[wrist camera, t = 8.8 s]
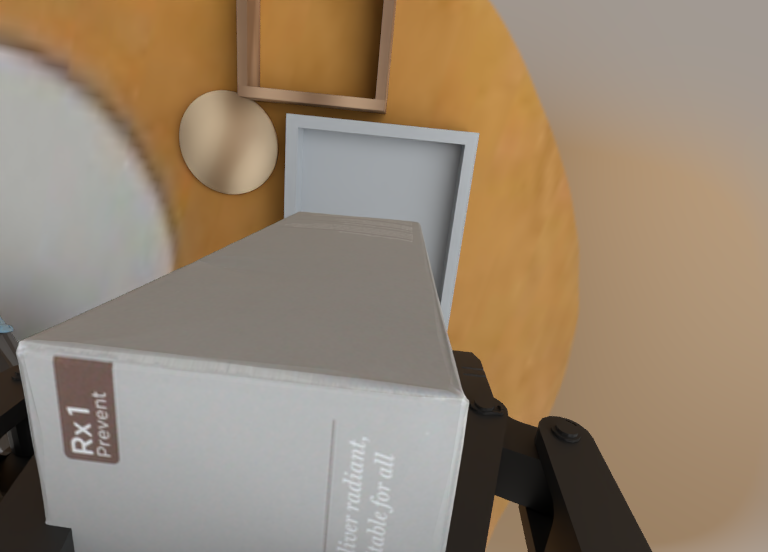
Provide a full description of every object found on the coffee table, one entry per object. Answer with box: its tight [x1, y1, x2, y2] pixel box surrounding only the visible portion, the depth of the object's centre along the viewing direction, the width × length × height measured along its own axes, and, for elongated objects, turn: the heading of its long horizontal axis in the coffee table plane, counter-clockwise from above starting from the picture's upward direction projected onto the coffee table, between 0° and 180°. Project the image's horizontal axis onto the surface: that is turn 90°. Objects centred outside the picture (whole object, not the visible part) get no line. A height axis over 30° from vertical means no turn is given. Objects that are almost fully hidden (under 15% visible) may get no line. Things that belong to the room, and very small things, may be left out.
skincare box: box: [16, 212, 469, 552], centre depth 14 cm, size 8×7×16 cm
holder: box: [236, 0, 396, 114], centre depth 32 cm, size 12×12×3 cm
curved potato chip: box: [179, 90, 278, 194], centre depth 37 cm, size 9×9×1 cm
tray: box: [284, 113, 479, 330], centre depth 37 cm, size 16×18×3 cm
